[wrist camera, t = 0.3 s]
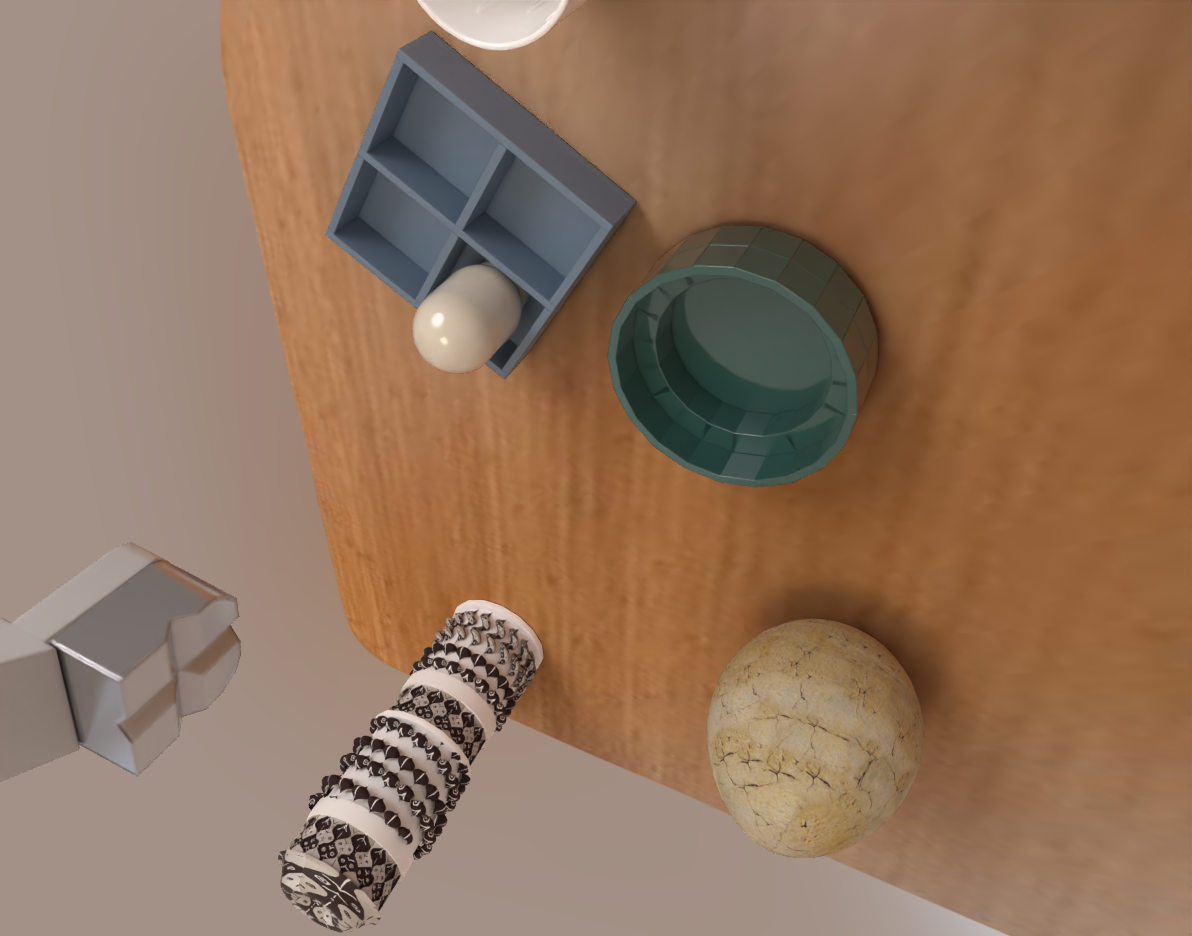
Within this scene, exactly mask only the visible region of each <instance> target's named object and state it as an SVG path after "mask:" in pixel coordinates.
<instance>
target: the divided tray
mask: <svg viewBox="0 0 1192 936" xmlns="http://www.w3.org/2000/svg"><path fill="white" fill-rule="evenodd" d="M635 204H636V201H635V200H634V199H633V198H631V197H630V196H629V195H628V194H627V193H625V192H624V191H623V190H622V189H621V188H619V187H618V186H617V185H616V184H615V183H613V182H612V181H611V180H610V179H609V178H607V177H606V176H605V175H604V174H603V173H601V172H600V171H599V170H598V169H597V168H595V167H594V166H593V165H592V164H591V163H589V162H588V161H587V160H586V159H585V158H583V157H582V156H581V155H580V154H579V153H577V152H576V151H575V150H574V149H573V148H571V147H570V146H569V145H568V144H567V143H565V142H564V141H563V140H562V139H561V138H559V137H558V136H557V135H556V134H555V133H553V132H552V131H551V130H550V129H549V128H547V127H546V126H545V125H544V124H543V123H541V122H540V121H539V120H538V119H537V118H535V117H534V116H533V115H532V114H531V113H529V112H528V111H527V110H526V109H525V108H523V107H522V106H521V105H520V104H519V103H517V102H516V101H515V100H514V99H513V98H511V97H510V96H509V95H508V94H507V93H505V92H504V91H503V90H502V89H501V88H499V87H498V86H497V85H496V84H495V83H493V82H492V81H491V80H490V79H489V78H487V77H486V76H485V75H484V74H483V73H481V72H480V71H479V70H478V69H477V68H475V67H474V66H473V65H472V64H471V63H469V62H468V61H467V60H466V59H465V58H463V57H462V56H461V55H460V54H459V53H457V52H456V51H455V50H454V49H453V48H451V47H450V46H449V45H448V44H447V43H445V42H444V41H443V40H442V39H441V38H439V37H438V36H437V35H436V34H435V33H433V32H432V31H430V32H429V33H427V34H425V35H423V36H421V37H419V38H418V39H416V40H414V41H412V42H410V43H409V44H407V45H405V46H403V47H401V48H399V50H398V52H397V55H396V58H395V60H394V63H393V65H392V68H391V70H390V73H389V75H388V78H387V80H386V83H385V85H384V88H383V90H382V93H381V95H380V98H379V100H378V103H377V105H376V108H375V110H374V113H373V115H372V118H371V120H370V123H369V125H368V128H367V130H366V133H365V135H364V138H363V140H362V143H361V145H360V148H359V151H358V154H357V156H356V158H355V161H354V163H353V166H352V168H351V171H350V173H349V176H348V178H347V181H346V183H345V186H344V188H343V191H342V193H341V196H340V198H339V201H338V203H337V206H336V208H335V211H334V213H333V216H332V218H331V221H330V223H329V226H328V228H327V231H326V233H325V235H326V236H327V237H328V238H330V239H331V240H332V241H333V242H335V243H336V244H337V245H338V246H340V247H341V248H342V249H343V250H345V251H346V252H347V253H348V254H349V255H351V256H352V257H353V258H354V259H356V260H357V261H358V262H359V263H361V264H362V265H363V266H364V267H366V268H367V269H368V270H369V271H371V272H372V273H373V274H374V275H376V276H377V277H378V278H379V279H380V280H382V281H383V282H384V283H385V284H387V285H388V286H389V287H390V288H392V289H393V290H394V291H395V292H397V293H398V294H399V295H400V296H402V297H403V298H404V299H405V300H407V301H408V302H409V303H410V304H411V305H413V306H414V307H415V308H416V309H417V308H418V307H419V305H420V304H421V302H422V301H423V300H424V299H425V298H426V297H427V296H428V295H429V294H430V293H431V292H433V291H434V290H435V289H436V288H437V287H438V286H439V285H440V284H441V283H443V282H444V281H445V280H446V279H447V278H448V277H449V276H450V275H452V274H453V273H454V272H456V271H457V270H459V269H461V268H463V267H465V266H469V265H474V264H480V263H481V262H482V261H484V260H486V259H487V260H488V261H489V262H491V263H492V264H493V265H494V266H496V267H497V268H498V269H499V270H501V271H502V272H503V273H504V274H505V275H507V276H508V277H509V278H510V279H512V280H513V281H514V282H515V283H516V284H518V285H519V286H520V287H521V288H523V289H524V290H525V291H526V292H527V293H529V299H528V302H527V305H526V306H525V307H524V309H523V310H522V317H521V320H520V324H519V326H518V327H517V329H516V331H515V332H514V334H513V335H512V336H511V337H510V338H509V340H508V341H507V342H506V343H505V344H504V345H503V346H502V347H501V348H500V349H499V350H498V351H497V352H496V353H495V354H494V355H493V356H492V358H491V359H490V360H489V361H488V362H486V363H485V364H486V365H487V366H488V367H490V368H491V369H492V370H493V371H495V372H496V373H497V374H498V375H500V376H501V377H502V378H503V379H506V378H507V377H508V375H509V374H510V373H511V372H512V371H513V370H514V369H515V368H516V367H517V365H518V364H519V363H520V362H521V361H522V360H523V359H524V358H525V357H526V355H527V354H528V353H529V352H530V350H531V349H532V347H533V346H534V345H535V343H536V342H537V340H538V339H539V338H540V336H541V335H542V334H543V332H544V331H545V329H546V328H547V327H548V325H549V324H550V322H551V321H552V320H553V318H554V317H555V315H556V314H557V313H558V311H559V310H560V308H561V307H562V306H563V304H564V303H565V301H566V300H567V299H568V297H569V296H570V294H571V293H572V292H573V290H574V289H575V287H576V286H577V285H578V283H579V282H580V280H581V279H582V278H583V276H584V275H585V273H586V272H587V271H588V269H589V268H590V266H591V265H592V264H593V262H594V261H595V259H596V258H597V257H598V255H599V254H600V253H601V251H602V250H603V248H604V247H605V246H606V244H607V243H608V241H609V240H610V239H611V237H612V236H613V234H614V233H615V232H616V230H617V229H618V227H619V226H620V225H621V223H622V222H623V220H624V219H625V218H626V216H627V215H628V213H629V212H630V211H631V209H632V208H633V206H634V205H635Z"/></svg>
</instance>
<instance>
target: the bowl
mask: <svg viewBox="0 0 1192 936" xmlns="http://www.w3.org/2000/svg"><path fill="white" fill-rule="evenodd" d="M608 361H609V367H610V372H611V377H612V382H613V387H614V390H615V392H616V394H617V396H618V398H619V400H620V402H621V404H622V406H623V408H624V410H625V412H626V413H627V415H628V417H629V419H630V420H631V422H632V423H633V424H634V425H635V426H636V427H637V428H638V429H639V431H640V432H641V433H642V434H643V435H644V436H645V437H646V438H647V439H648V441H649V442H650V443H651V444H652V445H653V446H654V447H655V448H656V449H658V450H659V451H661V452H662V453H664V454H665V455H666V456H668V457H669V458H671V459H672V460H674V461H675V462H677V463H678V464H679V465H681V466H682V467H684V468H686V469H688V470H690V471H693V472H695V473H698V474H700V475H703V476H705V477H708V478H710V479H713V480H715V481H718V482H721V483H728V484H735V485H742V486H749V487H764V486H773V485H781V484H789V483H793V482H795V481H797V480H799V479H801V478H804V477H806V476H808V475H810V474H812V473H815V472H817V471H819V470H821V469H822V468H824V467H825V466H826V465H827V464H828V463H829V462H830V460H831V459H832V458H833V457H834V456H835V455H836V454H837V453H838V452H839V451H840V450H841V449H842V448H843V447H844V446H845V445H846V443H847V440H848V438H849V435H850V433H851V431H852V428H853V426H854V424H855V421H856V419H857V416H858V414H859V412H860V409H861V407H862V405H863V402H864V400H865V397H866V395H867V393H868V390H869V388H870V385H871V382H872V380H873V377H874V375H875V372H876V370H877V366H878V333H877V329H876V326H875V324H874V321H873V318H872V315H871V313H870V310H869V307H868V305H867V302H866V299H865V297H864V296H863V294H862V293H861V292H860V290H859V289H858V288H857V286H856V285H855V284H854V283H853V281H852V280H851V279H850V278H849V276H848V275H847V274H846V273H845V271H844V270H843V269H842V268H841V266H840V265H838V263H837V262H836V261H834V260H833V259H831V258H830V257H828V256H827V255H825V254H824V253H823V252H821V251H820V250H818V249H817V248H815V247H814V246H812V245H811V244H810V243H808V242H807V241H805V240H803V239H801V238H798V237H795V236H792V235H789V234H786V233H783V232H780V231H777V230H773V229H770V228H767V227H763V226H730V225H725V226H720V227H717V228H713V229H710V230H707V231H704V232H700V233H697V234H694V235H691V236H689V237H687V238H685V239H684V240H683V241H681V242H680V243H679V244H677V245H676V246H675V247H673V248H672V249H671V250H669V251H668V252H667V253H666V254H664V255H663V256H662V257H661V258H660V259H659V260H658V262H657V263H656V264H655V265H654V266H653V268H652V269H651V270H650V271H649V272H648V274H647V275H646V276H645V277H644V278H643V280H642V281H641V282H640V283H639V285H638V286H637V287H636V288H635V289H634V291H633V292H632V293H631V294H630V295H629V297H628V298H627V300H626V302H625V303H624V305H623V307H622V308H621V310H620V312H619V313H618V315H617V317H616V318H615V320H614V322H613V324H612V330H611V336H610V343H609V349H608Z"/></svg>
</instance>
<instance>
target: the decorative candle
mask: <svg viewBox="0 0 1192 936" xmlns="http://www.w3.org/2000/svg"><path fill="white" fill-rule="evenodd" d="M446 623H447V626H446V627H443V631H437V632H436V638H437V640H434V641H433V642H432V647H427V648H425V649H424V656H423V657H422V658H421V662H420V661H417V662H415V663H414V664H413V670H412V671H411V673H410V678H409V679H408V680H407V682H406V683H405V685H404V686H403V688H402V690H401V693H400V695H399V696H398V698H397V699H396V700H395V702H394V703H393V705H392V706H391V708H390V709H389V710H387V711H385V712H383V713H380V714H378V715H377V716H376V718H375V719H372V721H371V727H370V732H371V733H372V736H371V737H369V736H363V737H361V738H359V737H358V738H356V739H355V740H354V746H353V752H354V753H349V754H347V755H344V756H342V757H341V759H340V763H341V765H340V769H341V771H342V772H343V776H342V775H340V776H338V775H331V776H325V777H324V778H323V779H322V791H323V793H324V794H323V793H317V794H316V795H311V796H310V799H309V800H310V801H311V802H310V803H309V808H310V809H311V810H312V811H311V812H310V814H309V815H308V819H307V822H306V823H305V825H304V826H303V828H302V829H301V830H300V832H299V833H298V834H297V836H296V837H295V839H294V840H293V841H292V843H291V844H290V845H289V847H288V848H287V850H285V851H281V852H279V856H278V861H279V863H280V865H281V867H282V876H281V888H282V890H283V892H284V894H285V896H286V897H287V899H288V900H289V901H290V902H291V903H292V904H293V905H294V906H295V907H296V908H297V909H298V910H299V911H301V912H302V913H303V914H304V915H305V916H307V917H309V918H310V919H312V920H313V921H315V922H316V923H318V924H320V925H322V926H324V927H326V928H328V929H331V930H334V931H338V932H351V931H354V930H356V929H358V928H360V927H361V926H363V925H377V924H378V922H379V920H380V915H379V911H380V909H381V907H382V906H383V904H384V903H385V901H386V900H387V898H388V897H389V895H390V893H391V892H392V890H393V888H394V887H395V885H396V884H399V883H400V882H401V880H402V879H403V877H404V875H405V874H406V872H407V871H408V869H409V868H410V866H411V864H412V862H413V860H415V859H420V858H421V857H422V856H423V854H424V855H425V854H428V853H430V851H431V849H432V844H434V842H435V841H436V836H439V835H440V834H441V833H442V827H444V826H445V825H446V824H447V818H446V816H445V814H446V812H447V811H452V810H453V809H454V808H455V806H456V801H458V800H459V799H460V794H463V793H464V792H465V785H468V784H469V782H470V776H471V774H472V773H471V768H470V765H471V764H472V763H473V761H474V759H475V758H476V756H477V754H478V753H479V751H480V750H482V749H484V747H485V746H486V744H487V742H488V741H489V739H490V738H491V736H492V735H493V733H494V732H499V731H500V730H501V729H502V725H503V724H504V723H505V722H506V717H507V716H509V715H510V714H511V710H512V709H513V708H514V707H515V705H516V703H515V701H517V700H519V699H521V697H522V696H523V693H524V692H525V691H526V689H527V686H528V685H529V684H530V683H531V681H532V678H533V677H534V676H535V674H536V670H537V669H538V667H539V665H540V663H541V662H542V660H543V658H544V657H543V650H542V644H541V643H540V641H539V639H538V637H537V636H536V634H535V632H534V631H533V629H531V628H530V627H529V626H528V625H527V624H526V623H525V622H524V621H523V620H522V619H521V618H520V617H519V616H518V615H516V614H514V613H513V612H511V611H509V610H508V609H506V608H505V607H503V606H501V605H498V604H495V603H492V602H489V601H486V600H468V601H466V602H464V603H462V604H460V605H458V607H457V608H456V611H455V613H454V616H453V618H447V619H446ZM516 689H517V691H516ZM515 691H516V692H515ZM341 776H342V777H341ZM323 796H324V797H325V798H322V797H323ZM326 796H328V797H326ZM320 798H322V799H320ZM446 801H448V802H447V803H446V804H445V802H446ZM436 817H437V819H436V823H435V826H434V822H433V821H434V820H435V818H436ZM421 841H423V842H422V844H423V843H424V845H423V846H422V847H420V846H419V844H420V842H421Z"/></svg>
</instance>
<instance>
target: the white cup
mask: <svg viewBox="0 0 1192 936" xmlns="http://www.w3.org/2000/svg"><path fill="white" fill-rule="evenodd" d="M417 1H418V3H419V4H420V5H421V7H422V8H423V9H424V10H425V12H426V13H427V14H428V15H429V16H430V17H431V18H432V19H433V20H434V21H435V22H436V23H437V24H438V25H439V26H441V27H442V28H443V29H444V30H446V31H447V32H448V33H450V34H451V35H453V36H454V37H456V38H458V39H459V40H461V41H463V42H465V43H468V44H470V45H473V46H476V47H479V48H483V49H489V50H511V49H516V48H520V47H523V46H525V45H528V44H530V43H532V42H534V41H536V40H537V39H539V38H540V37H542V36H543V35H544V34H545V33H547V32H548V31H549V30H551V29H552V28H553V27H554V26H556V25H557V24H558V23H559V22H561V21H562V20H563V19H565V18H566V17H567V16H568V15H570V14H571V13H572V12H574V11H575V10H576V9H578V8H579V7H580V6H581V5H583V4H584V3H585V2H587V1H588V0H417Z"/></svg>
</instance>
